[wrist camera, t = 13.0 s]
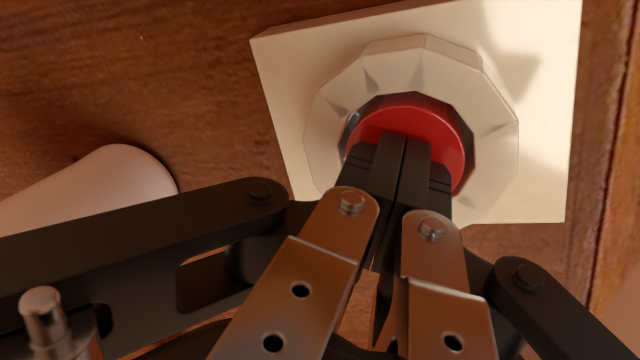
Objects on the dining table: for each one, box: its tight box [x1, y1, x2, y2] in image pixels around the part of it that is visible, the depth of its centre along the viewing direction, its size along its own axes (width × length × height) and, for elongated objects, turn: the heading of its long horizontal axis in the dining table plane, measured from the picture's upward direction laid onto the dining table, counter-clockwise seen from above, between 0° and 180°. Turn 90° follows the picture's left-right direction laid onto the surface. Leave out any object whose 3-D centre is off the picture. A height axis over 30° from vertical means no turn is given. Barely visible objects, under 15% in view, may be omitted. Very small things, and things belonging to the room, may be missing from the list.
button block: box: [249, 0, 583, 229], centre depth 14 cm, size 10×8×4 cm
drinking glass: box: [0, 144, 179, 237], centre depth 16 cm, size 7×7×15 cm
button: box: [346, 91, 465, 191], centre depth 13 cm, size 4×4×2 cm
